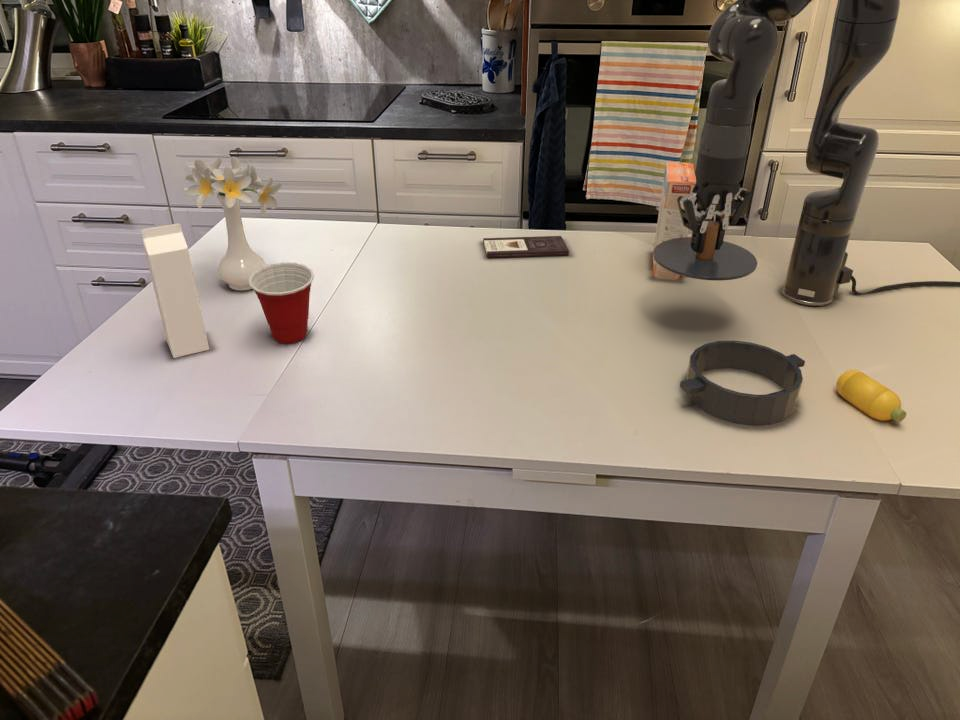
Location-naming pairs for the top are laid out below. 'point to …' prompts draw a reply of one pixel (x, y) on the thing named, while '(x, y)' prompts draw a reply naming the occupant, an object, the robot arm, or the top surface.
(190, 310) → the milk
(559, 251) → the chocolate bar
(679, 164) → the cracker box
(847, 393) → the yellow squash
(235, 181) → the flower vase
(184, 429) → the top surface
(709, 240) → the lid
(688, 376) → the pan
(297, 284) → the plastic cup
